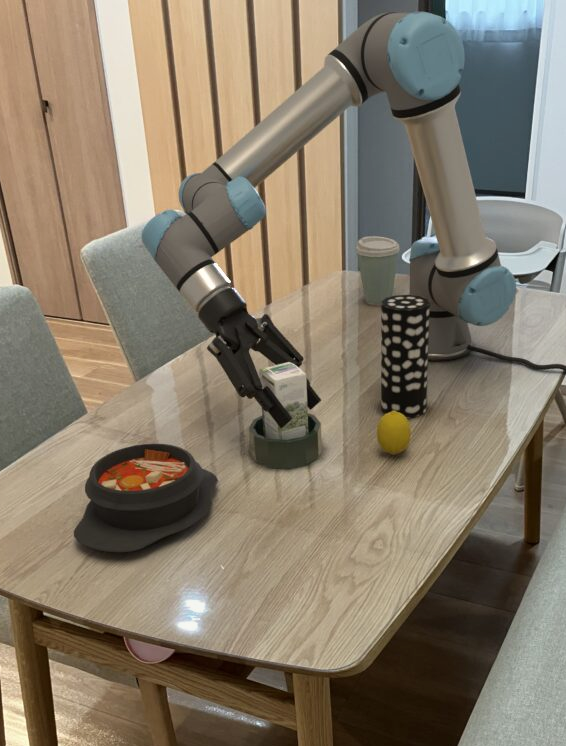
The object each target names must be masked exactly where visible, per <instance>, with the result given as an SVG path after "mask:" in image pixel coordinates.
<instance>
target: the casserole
mask: <svg viewBox="0 0 566 746" xmlns="http://www.w3.org/2000/svg"><path fill="white" fill-rule="evenodd" d="M88 474H89V475H88V478H87V479H86V482H85V484H84V493H85V494H86V497H87V498H88V499H89V502H88V503H87V505H86V507H85V510H84V513H83V516H82V518H81V519H80V521H79V523H77V525H76V527H75V528H74V530H73V537H74V539H76V540H77V542H78V543H80V544H82V545H84V546H85V547H87V548H90V549H93V550H96V551H102V552H108V553H109V552H110V553H128V552H129V553H130V552H135V551H138V550H141V549H144V548H146V547H149V546H150V545H152V544H153V543H155V542H157V541H159V540H161V539H162V538H165V537H169V536H171V535H173V534H176V533H178V532H181V531H184V530H185V529H187V528H189V527H191V526H193V525H195V524H196V523H197V522H199V521H200V520H201V519H203V518H204V517H205V515H206V514H207V513H208V512H209V511H210V508H211V506H212V502H213V495H214V491H215V488H216V486H217V484H218V482H219V480H218V477H217V475H216V474H214V473H213V472H211V471H209V470H208V469H205V468H203V467H202V466H201V465H200V463H199V462H197V460H195V458H194V456H193V455H192V454H191V453H190V452H189V451H188V450H187V449H184V448H183V447H180V446H177V445H173V444H169V443H168V444H167V443H142V444H134V445H130V446H127V447H123V448H120V449H116V450H114V451H112V452H110V453H108V454H105V455H104V456H103V457H101V458H99V459H98V460H97V461H95V462H94V464H93V465H92V467H91V468H90V471H89V473H88Z"/></svg>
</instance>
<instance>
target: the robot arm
mask: <svg viewBox="0 0 566 746" xmlns="http://www.w3.org/2000/svg"><path fill="white" fill-rule="evenodd" d="M465 59H466V57H465V47H464V43H463V40H462V38H461V36H460V33H459V32H458V30H457V28H455V26H454V25H453V24H452V23H451V22H450V21H448V19H446V18H444V17H442V16H440V15H437V14H434V13H431V12H426V11H414V12H393V11H391V12H383V13H381V14H378V15H375V16H373V17H371V18H370V19H368V20H367V21H365V22H364V23H362V25H360V26H359V27H358V28H356V30H354V31H353V32H352V33H351V34H350V35H349V36H347V37H346V38H345V39H344V40H343V41H342V42H340V44H338V45H337V46H336V47H335V48H334V49H332V50H331V52H329V53H327V55H326V56H325V57H324V63H323V67H322V68H321V69H319V71H317V72H316V73H315V74H313V76H311V78H309V79H308V80H307V81H306V82H304V84H302V85H301V86H300V87H299V88H298V89H296V91H294V92H293V93H292V94H291V95H290V96H289V97H287V98H286V99H285V100H284V101H283V102H282V103H281V104H279V105H278V106H277V107H276V108H275V109H274V110H272V111H271V112H270V113H269V114H268V115H267V116H266V117H264V118H263V119H262V120H261V121H259V123H258V124H256V125H255V126H254V127H253V128H252V129H251V130H249V131H248V132H247V133H246V134H245V135H244V136H243V137H242V138H240V139H239V140H238V141H236V142H235V144H233V145H232V146H231V147H230V148H229V149H228V150H227V151H225V152H224V153H223V154H222V155H221V156H219V157H218V159H216V160H215V161H214V162H213V163H211V164H210V165H209V166H208V167H207V168H205V169H204V170H203V171H202V172H197V173H192V174H190V175H188V176H186V177H185V178H184V179H183V180H182V182H181V183H180V186H179V188H178V201H179V204H180V207H181V208H182V210H183V211H184V212H185V214H184V215H183V216H182V215H181V214H179V213H178V211H176V210H175V209H165V210H164V211H163V212H161V213H157V214H156V215H154V216H153V217H152V218H151V219H150V220H148V222H146V224H145V225H144V227H143V229H142V231H141V243H142V244H143V246H144V247H145V249H146V250H147V252H148V253H149V254H150V256H151V257H152V259H153V261H154V262H155V263H156V264H157V266H158V267H159V269H160V270H161V271H162V272H163V273H164V274H165V276H166V277H167V278H168V280H169V281H170V282H171V284H172V285H173V286H174V287H175V288H176V290H177V291H178V292H179V293H180V295H181V296H182V298H183V299H184V300H185V301H186V303H187V304H188V306H189V307H190V308H191V310H192V311H193V312H194V313H197V315H198V316H197V317H198V319H199V321H200V322H201V323H202V324H203V326H204V327H205V328H206V329H207V331H208V332H209V333H210V334H214V335H215V337H214V338H213V339H212V341H210V343H209V344H208V345H207V346H206V349H207V351H208V352H209V353H210V354H211V355H212V356H213V357H214V358H216V360H217V362H218V363H219V365H220V367H221V368H222V370H223V371H224V373H225V375H226V377H227V378H228V380H229V381H230V383H231V384H232V386H233V387H234V389H235V391H236V393H237V394H238V396H239V397H240V398H247V399H249V400H252V399H255V401H256V402H257V404H258V405H259V406H260V407H261V409H262V408H263V410H264V411H266V412H267V411H268V412H269V414H270V415H271V416H272V418H273V419H274V420H275V422H276V423H277V424H278V426H279V427H280V428H283V427H284V426H285V425H286V424H287V423H288V422H290V421H291V420H292V417H291V416H290V415H289V413H288V412H287V411H286V409H285V408H284V407H283V405H282V404H281V403H280V401H279V400H278V399H277V398H276V396H275V395H274V394H273V392H272V391H271V390H270V388H269V387H268V386H266V387H264V388H263V389H262V383H261V381H260V378H259V372H258V371H257V369H256V366H255V363H254V361H253V357H252V355H251V353H250V349H251V350H252V351H254V352H258V353H260V354H261V355H262V356H263V357H265V358H266V359H267V360H268V361H270V362H271V363H272V364H273V365H274V366H275V365H279V364H283V363H287V362H290V363H293V364H294V365H296V366H297V367H299V368H300V367H301V366H302V365H303V361H304V356H303V355H302V354H301V353H300V352H299V350H298V349H296V348H295V347H294V346H293V344H292V343H291V342H290V341H289V340H288V338H287V337H286V336H285V335H284V334H283V332H281V331H280V330H279V329H278V328H277V327H276V325H275V324H274V322H273V321H272V319H271V317H270V315H269V314H267V313H265V314H263V315H262V317H258V318H257V317H255V316H253V315H252V314H250V313H249V311H248V305H247V302H246V301H245V300H244V298H243V297H242V296H241V294H240V293H239V292H238V290H237V289H236V288H235V287H232V282H231V280H230V279H229V278H228V277H227V276H226V274H225V273H224V272H223V270H222V269H221V268H220V267H219V266H218V264H217V263H216V262H215V261H214V259H213V258H212V257H214V256H216V255H217V254H218V253H219V252H221V251H222V250H224V249H225V248H226V247H228V246H230V244H232V243H233V242H235V241H236V240H237V239H239V238H241V236H243V235H244V234H245V233H247V232H248V231H250V230H252V229H253V228H254V227H255V226H256V225H258V223H260V222H261V221H262V220H263V219H264V218H265V217H266V214H267V209H266V205H265V204H264V201H263V200H262V197H261V196H260V195H259V192H258V191H257V190H256V188H257V187H259V185H260V184H261V183H263V182H264V181H266V179H267V178H269V177H270V176H271V175H272V174H273V173H274V172H276V171H277V170H278V169H279V168H280V167H281V166H282V165H284V164H285V163H286V162H287V161H289V159H291V158H292V157H293V156H294V155H296V153H298V152H299V151H300V150H301V149H302V148H303V147H305V146H306V145H307V144H308V143H309V142H310V141H312V140H313V139H314V138H315V137H316V136H317V135H319V134H320V133H321V132H322V131H323V130H324V129H326V128H327V127H328V126H329V125H330V124H332V122H334V121H335V120H336V119H337V118H338V117H339V116H341V115H342V114H343V113H344V112H345V111H346V110H348V109H349V108H350V107H356V108H357V107H361V106H362V105H363V104H364V103H365V102H366V101H368V100H369V99H370V98H372V97H373V96H376V95H378V94H382V93H384V92H385V93H386V97H387V100H388V103H389V107H390V111H391V114H392V117H393V119H395V120H397V121H398V122H400V123H402V124H403V125H404V126H405V131H406V134H407V137H408V141H409V144H410V148H411V152H412V155H413V158H414V162H415V167H416V169H417V170H416V171H417V173H418V176H419V180H420V183H421V188H422V191H423V195H424V198H425V202H426V206H427V208H428V212H429V217H430V221H431V223H432V226H433V231H434V234H435V236H432V237H431V236H430V237H426V238H420V239H418V240H416V241H414V242H413V243H412V245H411V247H410V254H409V260H408V262H409V295H416V296H421V297H424V298H426V299H428V300H429V301H430V313H429V343H428V361H430V362H431V361H432V362H433V361H434V362H437V361H439V362H440V361H441V362H442V361H450V360H456V359H459V358H462V357H464V356H467V355H468V354H469V353H470V352H471V351H472V352H475V353H478V354H481V355H486V356H488V357H492V358H495V359H498V360H500V361H505V362H511V363H517V364H518V363H519V364H523V365H525V366H527V367H528V368H531V369H534V370H538V371H547V370H562V371H564V372H565V373H566V365H565V364H561V363H550V364H537V363H534V362H533V361H530V360H528V359H525V358H522V357H517V356H516V357H515V356H509V355H504V354H500V353H497V352H494V351H491V350H489V349H485V348H481V347H477V346H475V345H472V344H473V341H472V335H471V330H470V327H469V324H471V325H473V326H476V327H486V326H490V325H492V324H494V323H496V322H498V321H499V320H501V318H503V317H504V316H505V315H506V314H507V313H508V311H509V310H510V306H511V305H512V304H513V303H514V300H515V297H516V293H517V282H516V281H517V280H516V278H515V276H514V274H513V273H512V272H511V271H510V270H509V268H507V267H506V266H504V265H502V264H501V260H500V255H499V250H498V247H497V244H496V242H495V240H494V239H491V238H489V237H487V236H486V234H485V229H484V225H483V220H482V217H481V213H480V208H479V204H478V200H477V196H476V191H475V187H474V184H473V177H472V175H471V171H470V166H469V162H468V158H467V153H466V149H465V145H464V141H463V137H462V133H461V127H460V125H459V120H458V116H457V112H456V108H455V107H456V104H457V102H458V101H459V99H460V96H461V95H462V92H461V88H460V83H459V82H460V81H461V78H462V75H461V74H462V72H463V71H464V68H465V62H466V60H465ZM300 369H301V368H300ZM306 381H307V409H309V410H310V411H311V410H312V409H314V408H315V407H316V406H317V405H318V404H319V403H321V402H322V399H321V397H320V396H319V394H318V393H317V392H316V391H315V389H313V387H312V386H311V382H310V380H309V379H308V378H307V377H306Z"/></svg>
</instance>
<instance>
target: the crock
mask: <svg viewBox="0 0 566 746" xmlns="http://www.w3.org/2000/svg"><path fill="white" fill-rule="evenodd" d="M248 437H249V447H250V455H251V457H252V459H253V460H254V462H255V463H256V464H259V465H261V466H264V467H265V468H269V469H279V470H291V469H296V468H300V467H306V466H308V465H310V464H311V463H314V462H315V461H316V460H318V459H319V458H320V456H321V453H322V451H323V441H322V439H323V437H322V423H321V421H320V420H319V419H318V418H317V416H316V415H314V414H312V413H309V412H308V434H306V435H304V436H303V437H298V438H293V439H288V440H283V439H269V438H266V437H264V432H263V418H262V415H260V416H257V417H255V418H253V419H252V421H251V423H250V425H249V426H248Z"/></svg>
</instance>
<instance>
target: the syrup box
mask: <svg viewBox="0 0 566 746" xmlns="http://www.w3.org/2000/svg"><path fill="white" fill-rule="evenodd" d="M258 376H259V378H260V381H261V383H262V389H263V388H264V387H266V386H268V387H269V388H270V390H271V391H272V392H273V394H274V395H275V396H276V398H277V399H278V400H279V401H280V403H281V404H282V405H283V407H284V408H285V409H286V411H287V412H288V413H289V415H290V416H291V417H292V420H291V421H290V422H288V423H287V424H286V425H285V426H284V427H283V428H280V427H279V426H278V424H277V423H276V422H275V420H274V419H273V418H272V416H271V415H270V414H269V412H268V411H267V412H266V411H264V410H263V408H262V407H261V416H262V418H263V432H264V437H266V438H269V439H283V440H288V439H293V438H298V437H303V436H304V435H306V434H308V413H309V412H308V409H309V408H308V407H307V381H306V378H307V373H306V372H305V371H303V370H302V369H301V368H299V367H297V366H296V365H294V364H293V363H290V362H287V363H283V364H279V365H275V364H274V365H271V366H268V367H263V368H260V369H258Z"/></svg>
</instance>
